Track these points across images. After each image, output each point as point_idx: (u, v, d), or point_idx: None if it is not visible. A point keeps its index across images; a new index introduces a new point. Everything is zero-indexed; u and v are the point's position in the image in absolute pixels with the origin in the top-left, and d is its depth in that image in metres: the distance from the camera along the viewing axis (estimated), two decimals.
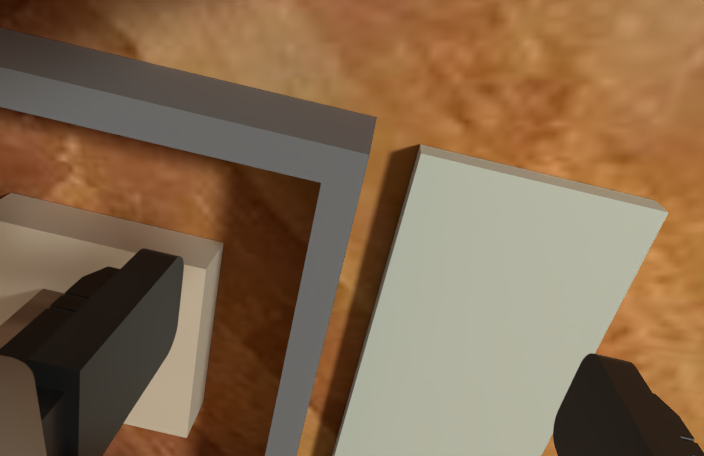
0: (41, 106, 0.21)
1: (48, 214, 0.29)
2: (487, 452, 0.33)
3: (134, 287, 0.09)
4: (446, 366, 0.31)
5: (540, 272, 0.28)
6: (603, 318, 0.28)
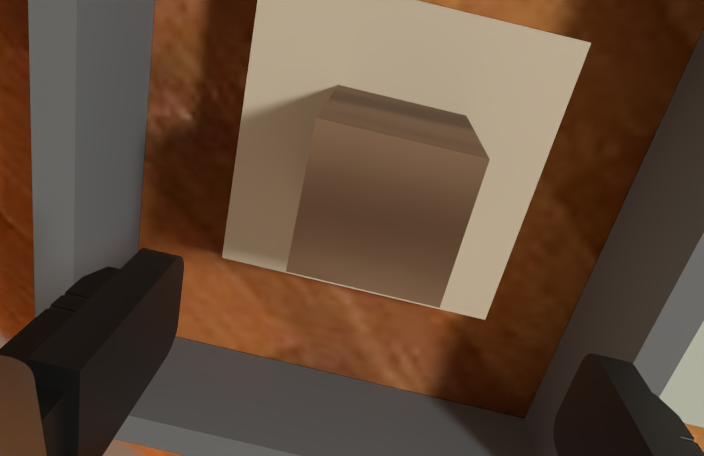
0: None
1: None
2: None
3: (134, 287, 0.09)
4: None
5: None
6: None
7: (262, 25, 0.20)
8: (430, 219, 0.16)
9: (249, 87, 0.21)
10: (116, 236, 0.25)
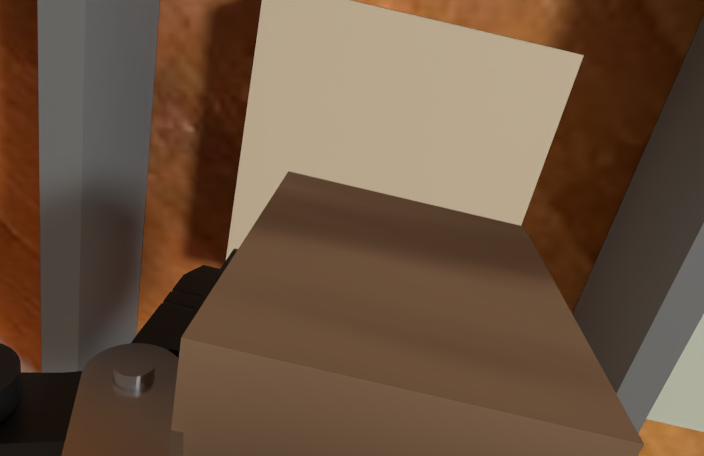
0: None
1: None
2: None
3: None
4: None
5: None
6: None
7: (264, 40, 0.21)
8: None
9: (251, 100, 0.22)
10: (120, 247, 0.25)
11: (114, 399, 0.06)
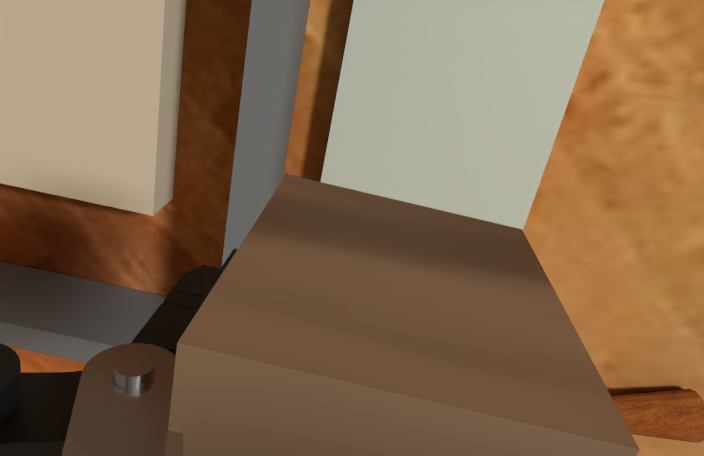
0: None
1: None
2: None
3: None
4: (420, 118, 0.29)
5: None
6: (579, 44, 0.27)
7: None
8: None
9: None
10: None
11: (114, 399, 0.06)
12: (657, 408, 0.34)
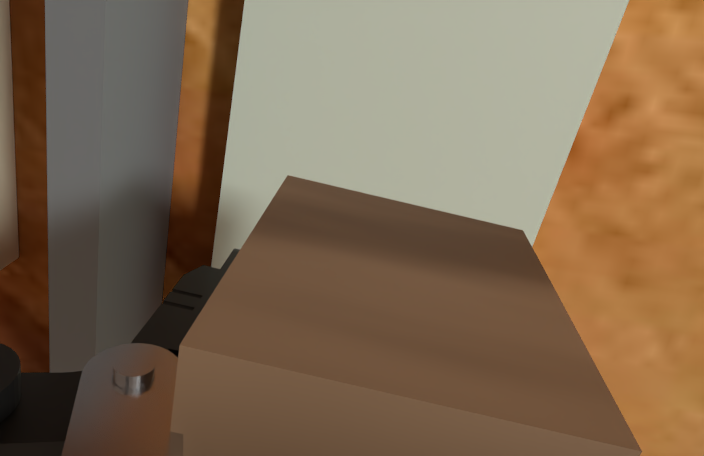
0: None
1: None
2: None
3: None
4: (353, 161, 0.20)
5: None
6: (592, 57, 0.18)
7: None
8: None
9: None
10: None
11: (114, 399, 0.06)
12: None
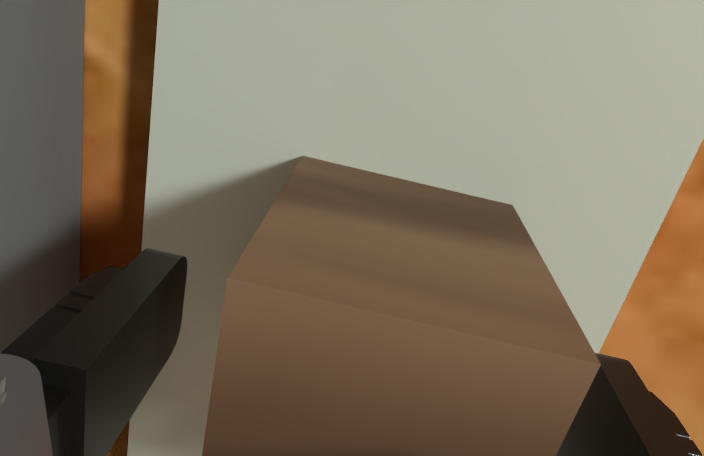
0: None
1: None
2: None
3: (138, 287, 0.09)
4: None
5: None
6: (699, 98, 0.11)
7: None
8: None
9: None
10: None
11: None
12: None
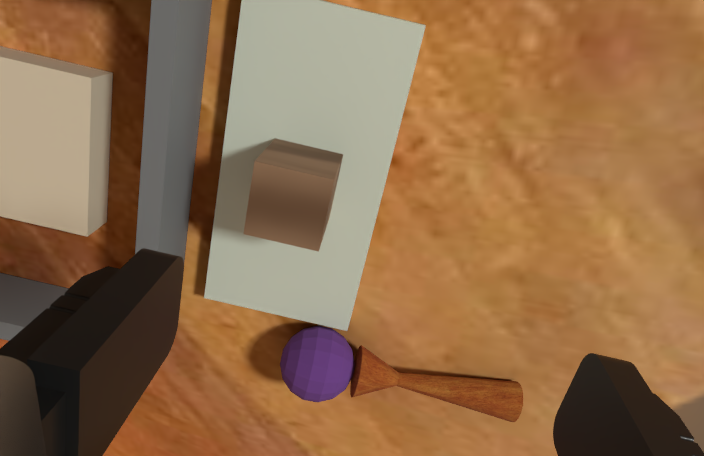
0: None
1: None
2: (326, 249, 0.42)
3: (134, 287, 0.09)
4: None
5: (342, 80, 0.37)
6: (394, 120, 0.38)
7: None
8: (310, 207, 0.34)
9: None
10: None
11: None
12: (488, 390, 0.45)
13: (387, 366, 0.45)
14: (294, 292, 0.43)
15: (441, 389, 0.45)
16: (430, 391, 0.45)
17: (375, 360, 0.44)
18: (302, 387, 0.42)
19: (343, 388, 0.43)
